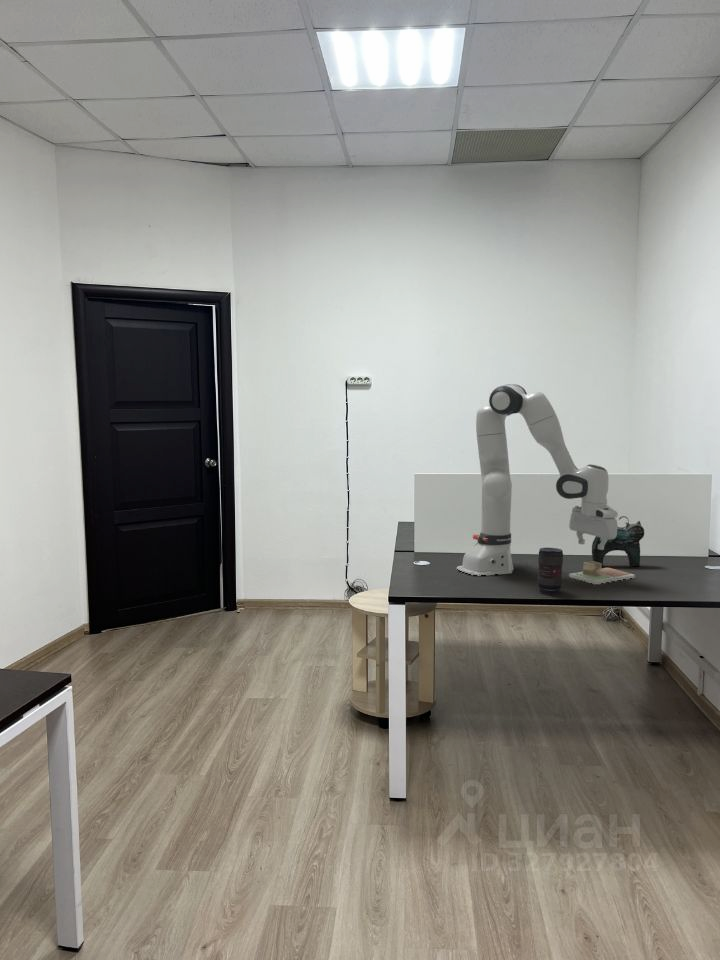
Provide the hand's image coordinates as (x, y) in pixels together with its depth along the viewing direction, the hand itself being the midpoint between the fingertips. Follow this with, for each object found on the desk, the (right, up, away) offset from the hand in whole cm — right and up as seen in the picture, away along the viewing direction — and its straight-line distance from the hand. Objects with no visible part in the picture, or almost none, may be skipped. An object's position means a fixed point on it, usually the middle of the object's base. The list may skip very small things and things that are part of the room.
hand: (590, 546), depth 267 cm
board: (+5, -12, +3) cm, 13 cm away
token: (+1, -10, +1) cm, 10 cm away
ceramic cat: (+17, -10, +21) cm, 29 cm away
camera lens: (-19, -14, -16) cm, 29 cm away
